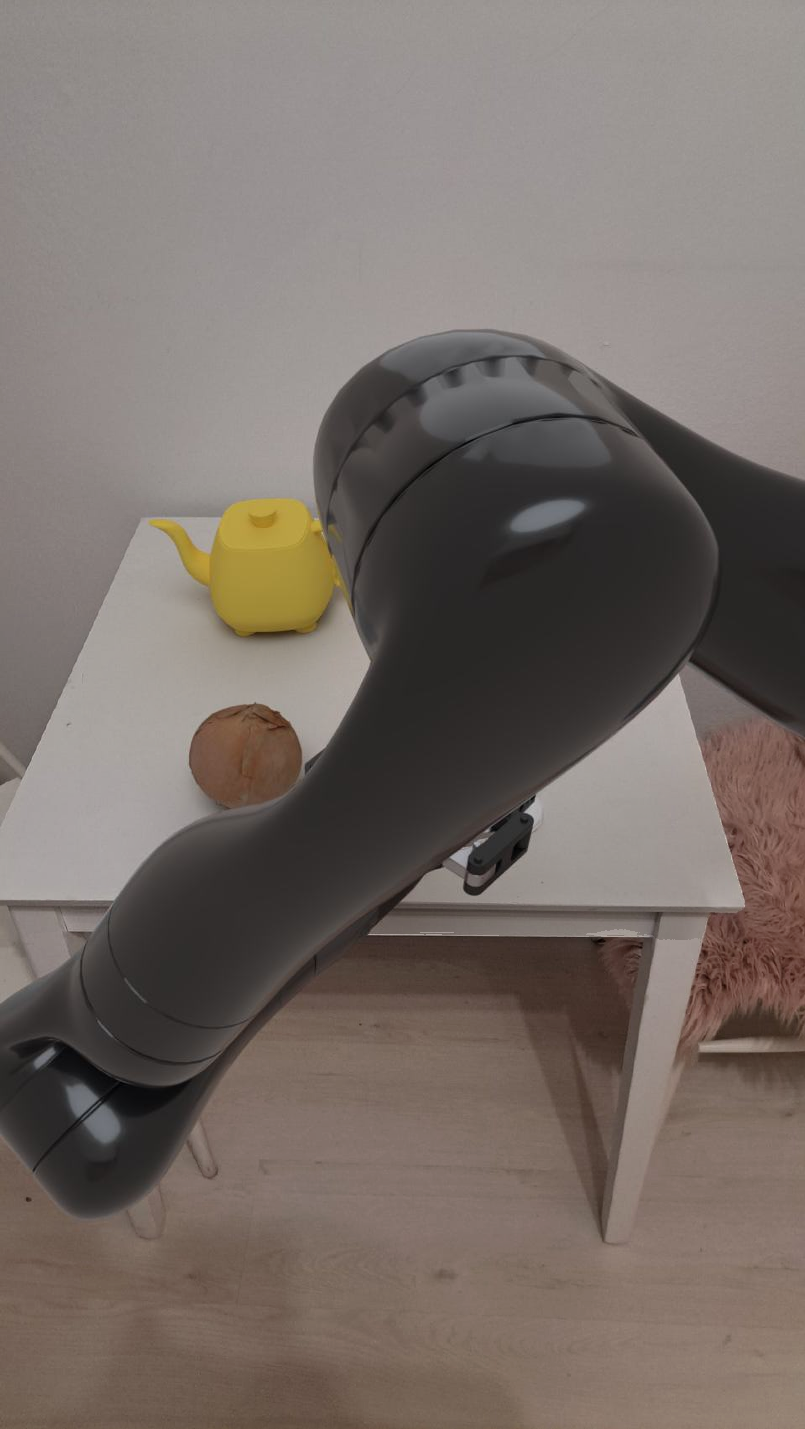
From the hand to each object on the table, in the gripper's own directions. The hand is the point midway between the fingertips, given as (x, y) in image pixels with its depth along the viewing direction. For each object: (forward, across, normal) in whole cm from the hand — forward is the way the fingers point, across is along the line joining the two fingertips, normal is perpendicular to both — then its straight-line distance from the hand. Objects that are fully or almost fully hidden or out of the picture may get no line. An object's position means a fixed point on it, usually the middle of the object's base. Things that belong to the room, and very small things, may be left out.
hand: (476, 751), depth 63 cm
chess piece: (+11, +1, +14) cm, 18 cm away
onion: (0, +21, +16) cm, 27 cm away
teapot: (+20, +39, +13) cm, 45 cm away
